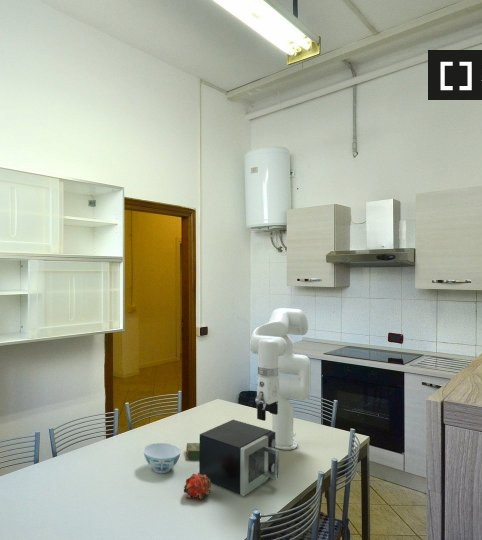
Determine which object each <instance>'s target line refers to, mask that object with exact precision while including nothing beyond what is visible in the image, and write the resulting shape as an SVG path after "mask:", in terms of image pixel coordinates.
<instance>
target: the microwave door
mask: <svg viewBox="0 0 482 540" xmlns="http://www.w3.org/2000/svg"><path fill="white" fill-rule="evenodd" d="M268 452H269V453H272V454H274V473H272V472H269V471H268ZM268 477H269V478H268ZM279 478H280V449H278V448H272V447H269V446H268V436H265V435H264V436H263V437H261V438H259V439H257V440H255V441H253V442H251V443H250V444H248V445H246V446H244V447H242V448H241V457H240V495H239V496H242V497H246V495H248V494H250V493H251V492H253V491H254V490H255V489H256V488H258V487H259V486H261V485H262V484H264V483H265V482H267V481H269V479H271V480H274V481H279V480H280V479H279Z"/></svg>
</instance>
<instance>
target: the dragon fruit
mask: <svg viewBox="0 0 482 540" xmlns="http://www.w3.org/2000/svg"><path fill="white" fill-rule="evenodd" d="M211 484H212V483H211V482H210V478H208V477H207V475H202V474H200V473H199V472H197V474H195V473H193V474H192V475H190V476H189V477H188V478H186V480H185V484H184V487H183V493H184V494H187V495H186V497H187V499H188V498H189V499H194V498H198V499H199V500H202V499H204V497H205V496H206V495H210V493H211V491H212V489H211V488H212V485H211Z"/></svg>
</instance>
